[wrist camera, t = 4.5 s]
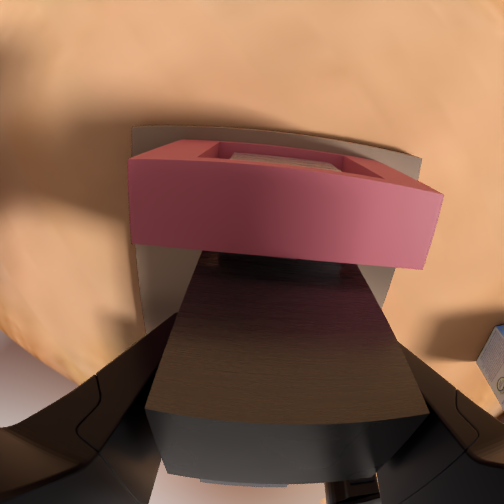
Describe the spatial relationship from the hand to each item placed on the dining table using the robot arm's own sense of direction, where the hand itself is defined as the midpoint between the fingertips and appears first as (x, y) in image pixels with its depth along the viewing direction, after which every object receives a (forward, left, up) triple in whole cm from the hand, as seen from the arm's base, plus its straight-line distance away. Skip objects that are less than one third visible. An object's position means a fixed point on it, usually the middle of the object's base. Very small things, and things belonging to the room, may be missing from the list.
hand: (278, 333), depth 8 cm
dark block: (-3, 0, -6) cm, 7 cm away
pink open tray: (+3, 0, -7) cm, 8 cm away
